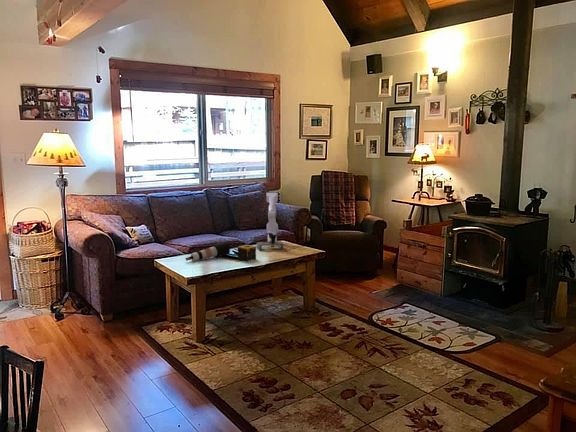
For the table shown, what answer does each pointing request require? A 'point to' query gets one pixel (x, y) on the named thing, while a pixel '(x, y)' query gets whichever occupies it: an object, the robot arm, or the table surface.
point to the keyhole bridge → (260, 244)
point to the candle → (246, 253)
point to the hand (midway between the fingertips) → (272, 242)
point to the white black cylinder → (211, 252)
